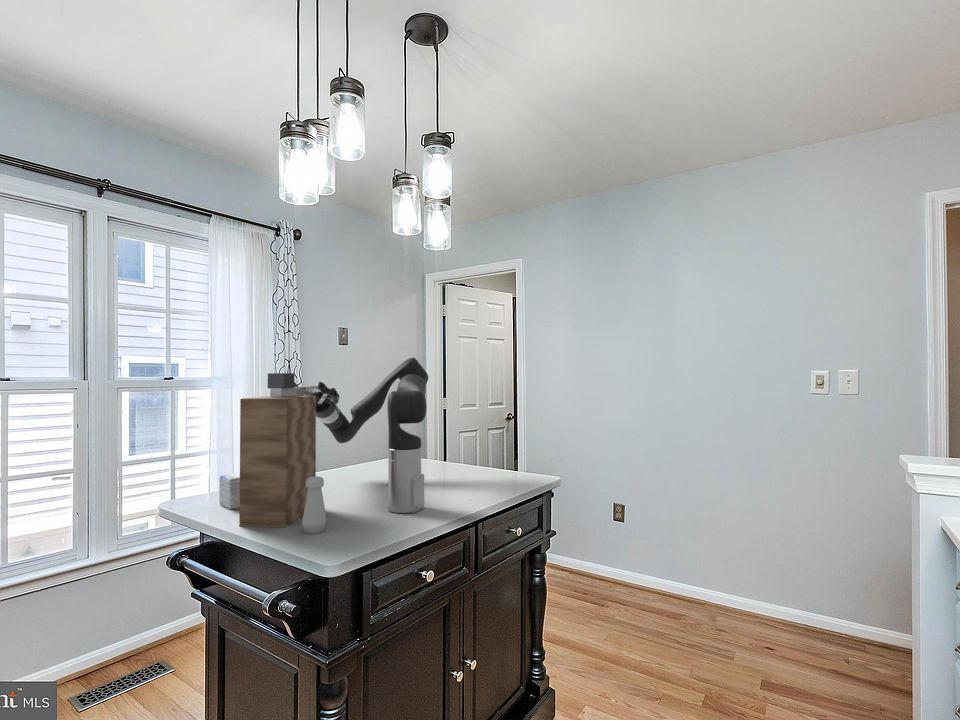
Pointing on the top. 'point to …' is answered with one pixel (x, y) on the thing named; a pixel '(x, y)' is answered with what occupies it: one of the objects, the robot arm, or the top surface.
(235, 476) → the medicine box
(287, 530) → the top surface
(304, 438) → the stand
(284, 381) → the gray stepped bar
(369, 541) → the top surface
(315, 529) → the salt shaker
